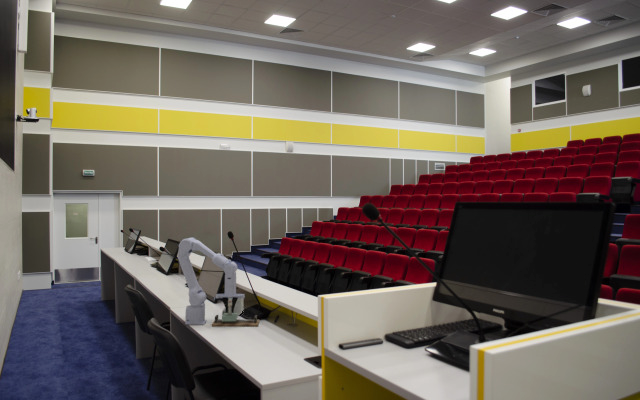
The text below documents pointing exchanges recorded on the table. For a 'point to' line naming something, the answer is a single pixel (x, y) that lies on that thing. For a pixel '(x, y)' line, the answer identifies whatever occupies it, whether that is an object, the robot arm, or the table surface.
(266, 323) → the table surface
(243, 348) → the table surface
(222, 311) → the gauge cabinet
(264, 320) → the table surface
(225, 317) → the carriage
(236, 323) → the rail bed
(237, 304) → the small box
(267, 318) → the table surface
